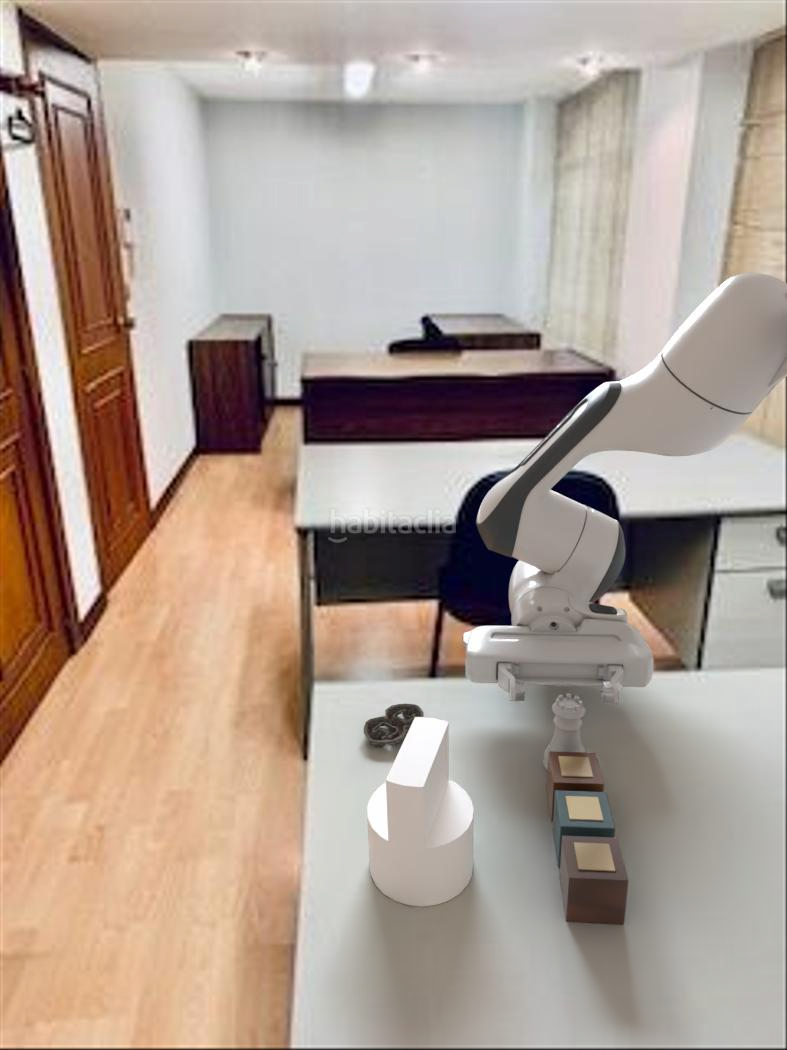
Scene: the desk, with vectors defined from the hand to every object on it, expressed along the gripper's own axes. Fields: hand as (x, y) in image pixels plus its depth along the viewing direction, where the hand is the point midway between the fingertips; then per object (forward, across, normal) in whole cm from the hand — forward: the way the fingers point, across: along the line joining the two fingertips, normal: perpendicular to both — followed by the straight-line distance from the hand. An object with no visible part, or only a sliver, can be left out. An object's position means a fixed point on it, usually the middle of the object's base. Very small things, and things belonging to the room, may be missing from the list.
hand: (564, 697), depth 78 cm
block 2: (+19, 0, +7) cm, 20 cm away
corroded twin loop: (-3, -18, +7) cm, 19 cm away
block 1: (+8, 0, +7) cm, 11 cm away
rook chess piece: (+3, 0, +7) cm, 7 cm away
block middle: (+14, 0, +7) cm, 15 cm away
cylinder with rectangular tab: (+16, -14, +7) cm, 22 cm away
